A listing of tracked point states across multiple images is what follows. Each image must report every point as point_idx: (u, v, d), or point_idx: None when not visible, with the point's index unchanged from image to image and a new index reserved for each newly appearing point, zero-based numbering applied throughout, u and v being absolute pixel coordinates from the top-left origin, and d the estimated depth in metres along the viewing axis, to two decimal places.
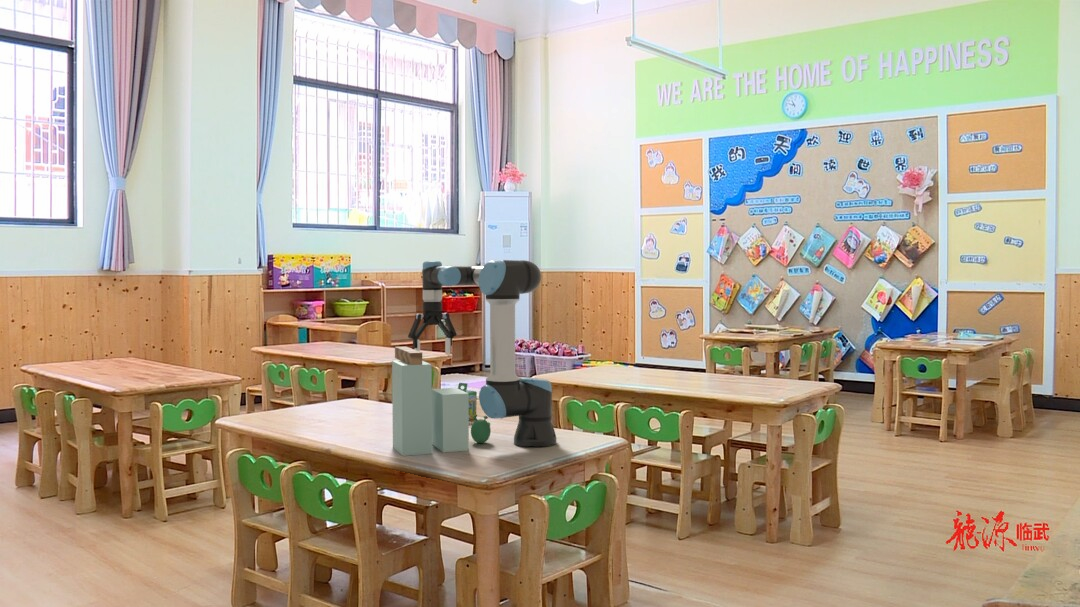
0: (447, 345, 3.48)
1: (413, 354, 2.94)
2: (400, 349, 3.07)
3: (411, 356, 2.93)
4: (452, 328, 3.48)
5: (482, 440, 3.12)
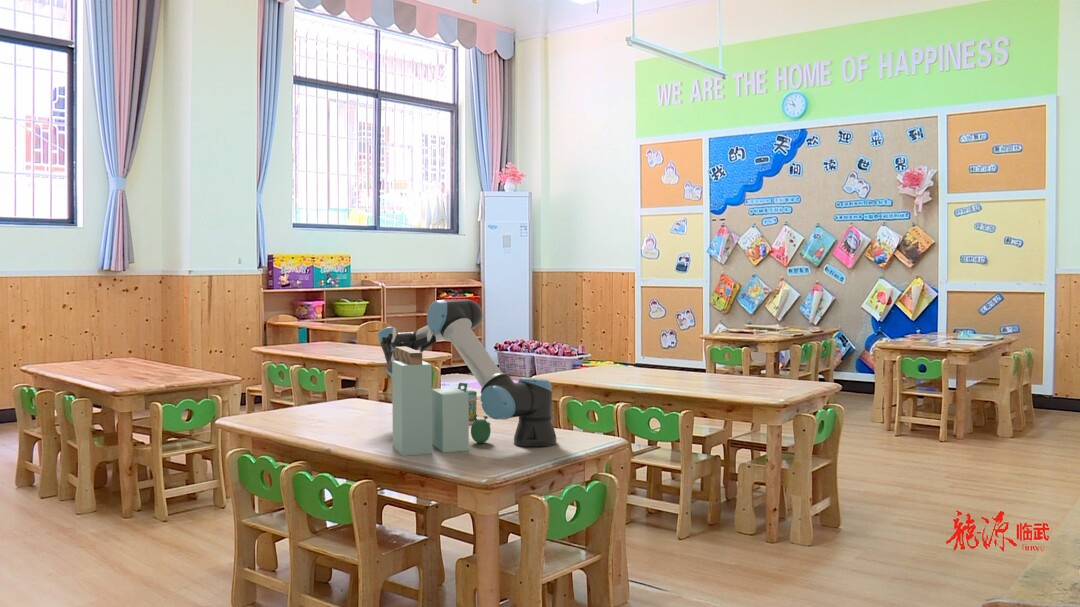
0: (428, 333, 3.29)
1: (413, 354, 2.94)
2: (400, 349, 3.07)
3: (411, 356, 2.93)
4: None
5: (482, 440, 3.12)
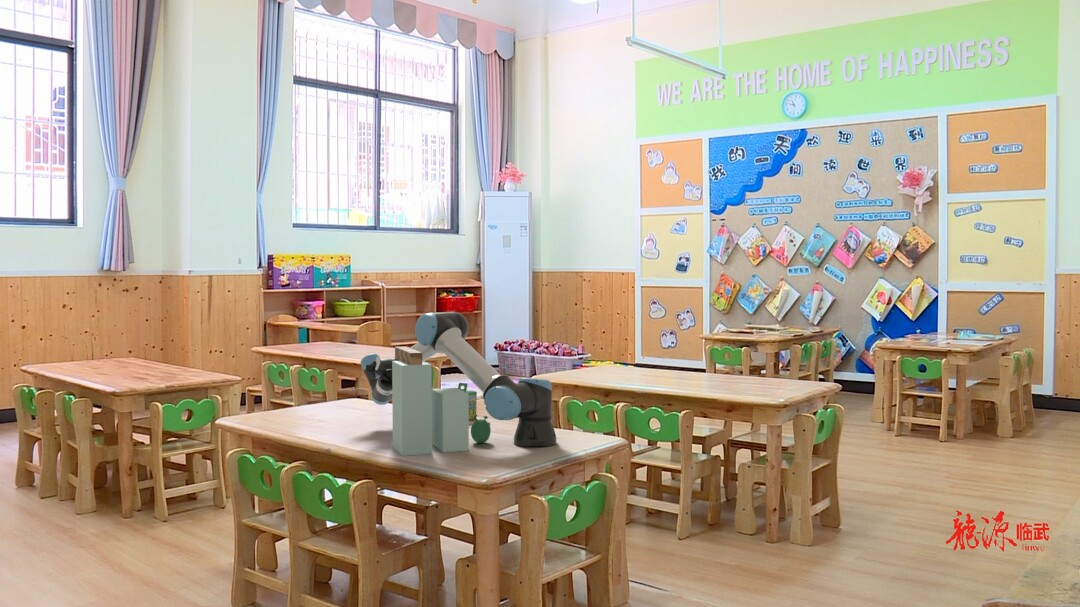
0: None
1: (413, 354, 2.94)
2: (400, 349, 3.07)
3: (411, 356, 2.93)
4: None
5: (482, 440, 3.12)
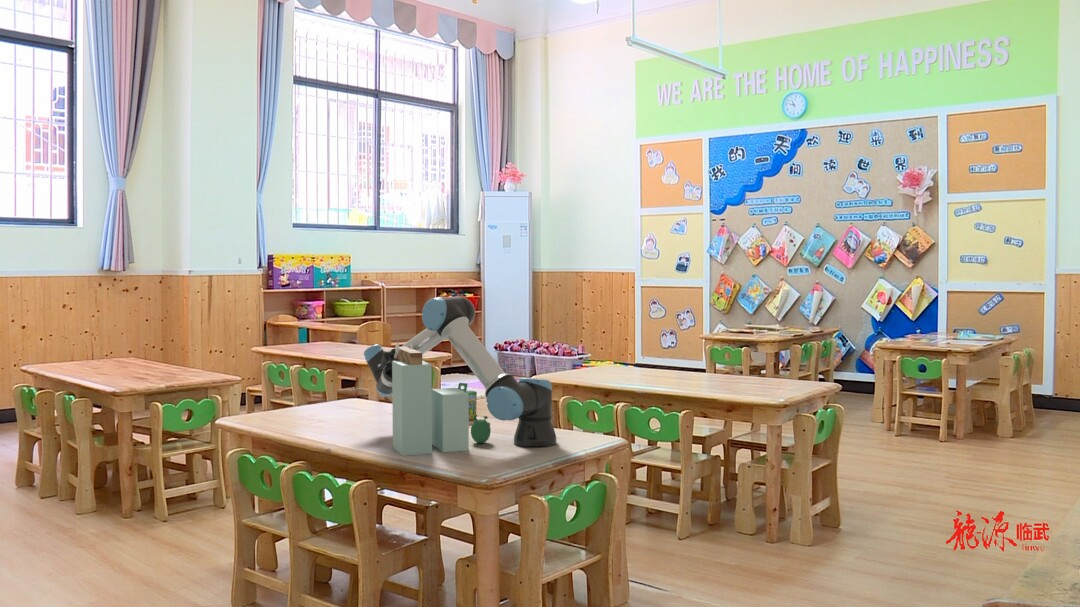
0: None
1: (413, 354, 2.94)
2: (400, 349, 3.07)
3: (411, 356, 2.93)
4: None
5: (482, 440, 3.12)
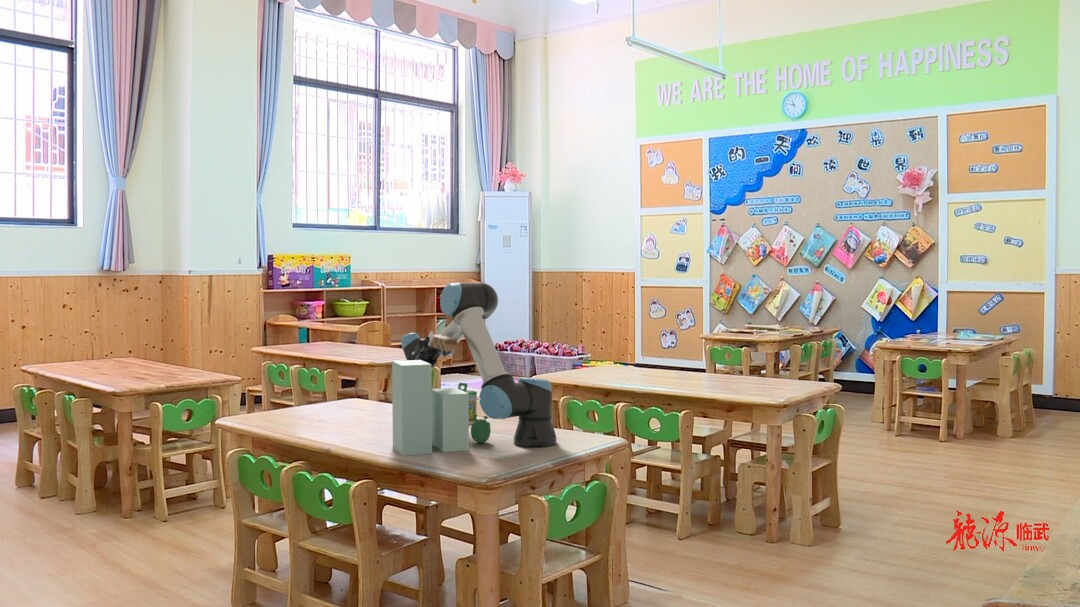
0: None
1: (448, 341, 3.02)
2: (434, 337, 3.15)
3: (446, 343, 3.01)
4: None
5: (482, 440, 3.12)
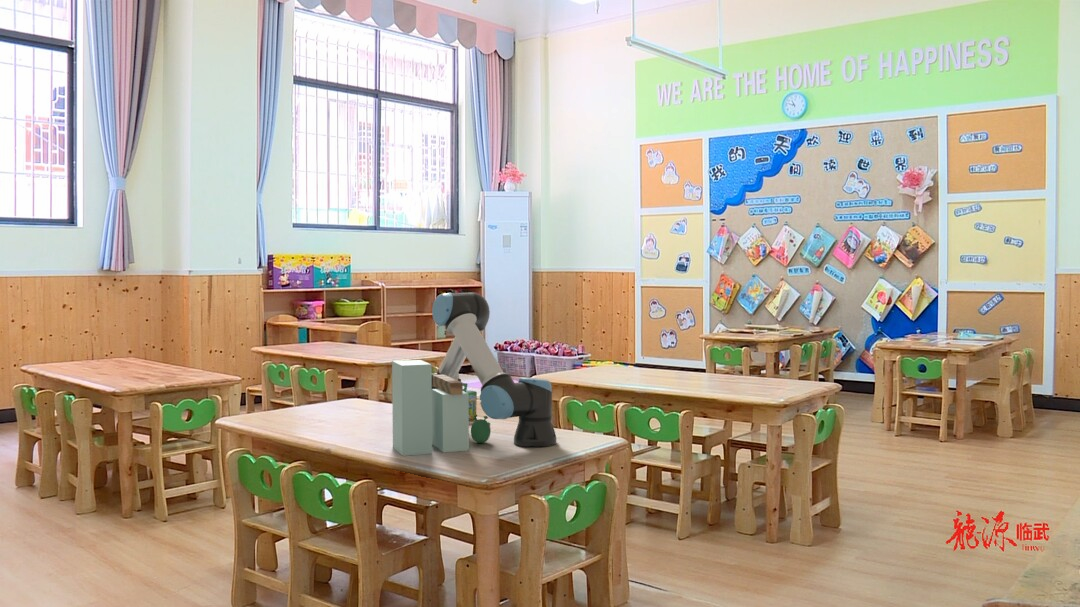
0: (454, 377, 3.20)
1: (454, 384, 2.98)
2: (439, 378, 3.11)
3: (452, 386, 2.98)
4: None
5: (482, 440, 3.12)
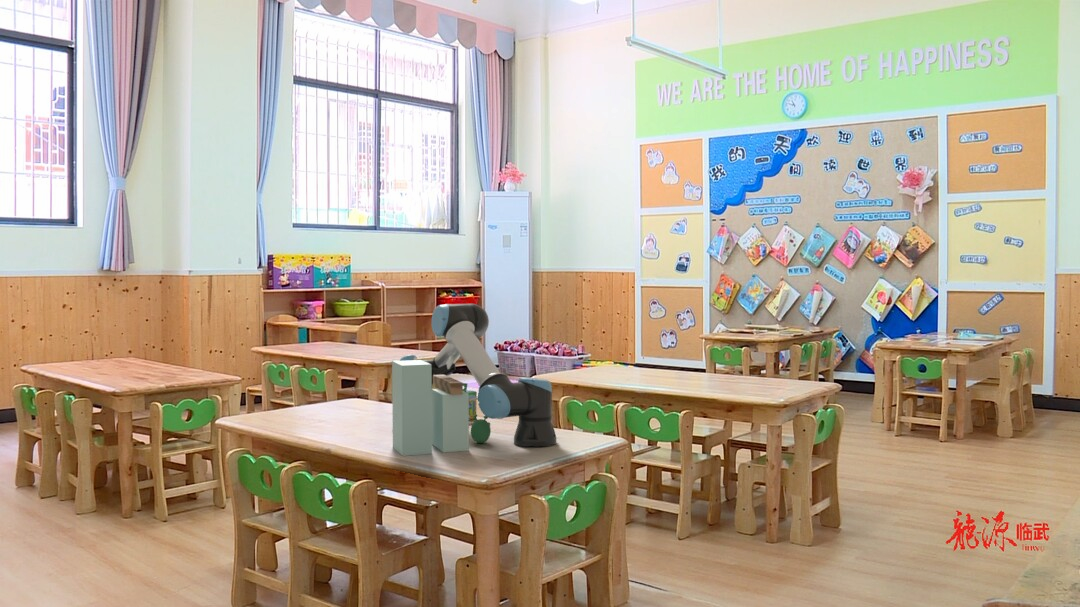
0: (448, 361, 3.34)
1: (454, 384, 2.98)
2: (439, 378, 3.11)
3: (452, 386, 2.98)
4: None
5: (482, 440, 3.12)
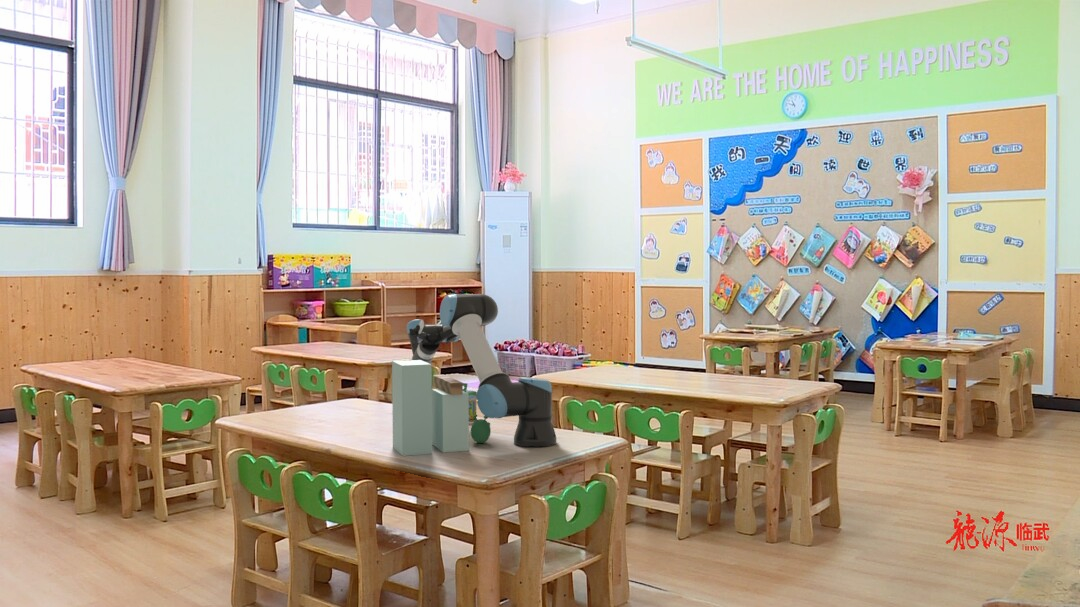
0: None
1: (454, 384, 2.98)
2: (439, 378, 3.11)
3: (452, 386, 2.98)
4: None
5: (482, 440, 3.12)
